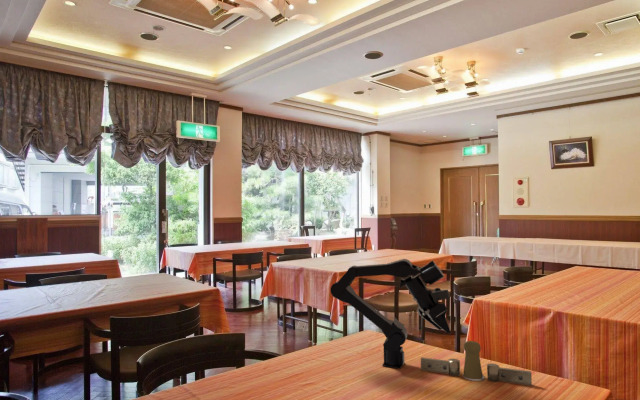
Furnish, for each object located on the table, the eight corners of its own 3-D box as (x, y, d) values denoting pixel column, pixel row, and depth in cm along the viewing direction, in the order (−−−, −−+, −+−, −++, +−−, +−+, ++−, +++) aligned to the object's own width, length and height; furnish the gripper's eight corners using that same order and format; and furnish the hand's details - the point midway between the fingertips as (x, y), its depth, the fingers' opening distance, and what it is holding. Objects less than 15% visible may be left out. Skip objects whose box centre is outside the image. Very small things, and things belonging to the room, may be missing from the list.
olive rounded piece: (486, 378, 134) (485, 344, 134) (469, 380, 133) (468, 345, 133) (476, 371, 140) (475, 338, 140) (459, 372, 139) (458, 339, 139)
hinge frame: (419, 373, 140) (419, 359, 140) (423, 366, 146) (422, 353, 146) (532, 389, 126) (531, 374, 126) (531, 380, 132) (530, 366, 132)
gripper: (445, 278, 137) (473, 320, 135) (431, 279, 156) (455, 316, 153) (418, 296, 136) (445, 339, 133) (406, 295, 155) (430, 332, 152)
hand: (444, 330), depth 143 cm, fingers open, 9 cm apart
